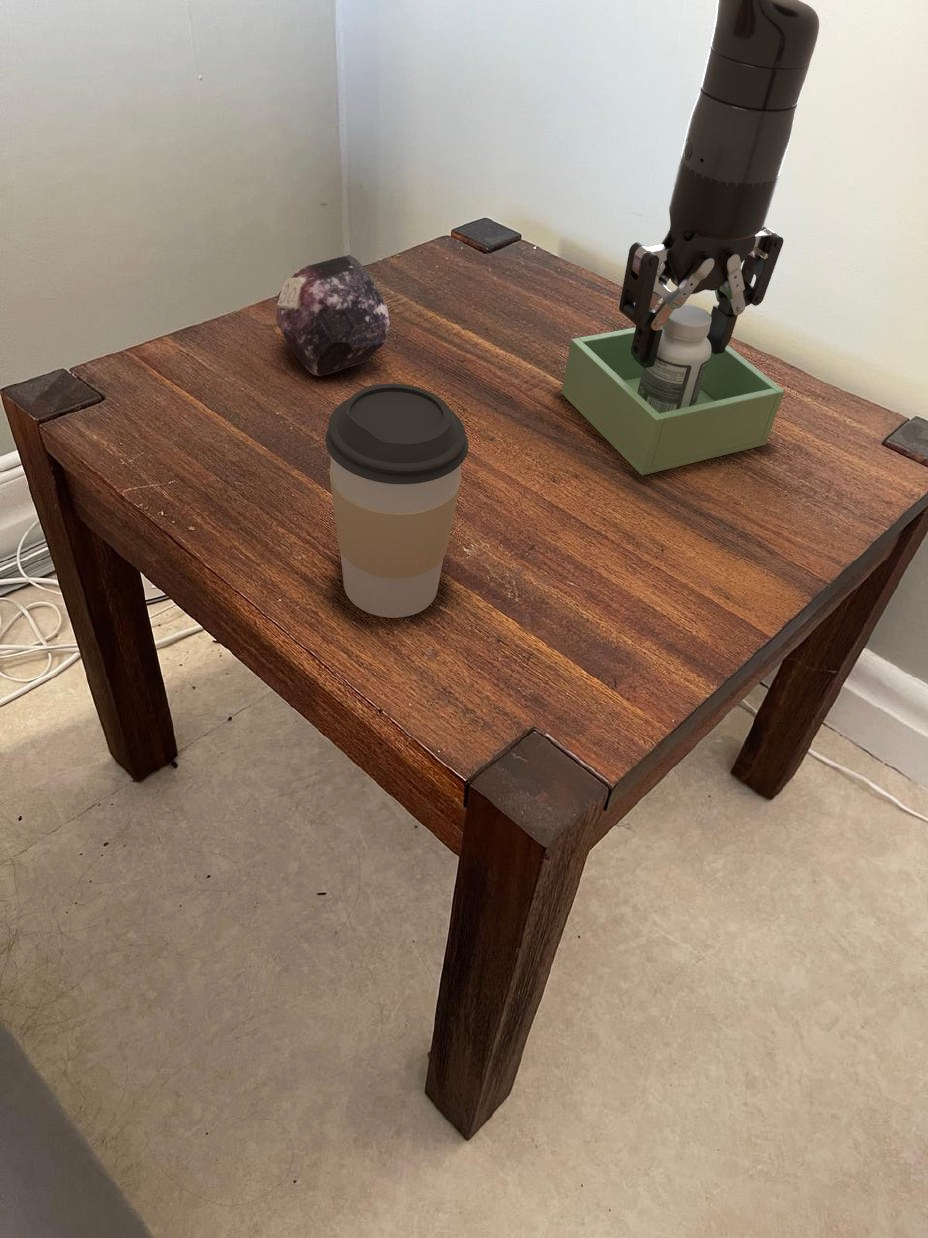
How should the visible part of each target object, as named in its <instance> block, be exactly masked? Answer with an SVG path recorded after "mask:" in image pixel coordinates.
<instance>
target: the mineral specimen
mask: <svg viewBox="0 0 928 1238" xmlns="http://www.w3.org/2000/svg"><path fill="white" fill-rule="evenodd" d="M276 297H277V298H276V299H277V300H276V307H275V320H276V323H277V326H278V328H279V330H280V332H281V334H282V336H283V337H284V339H285V341H286V343H287V344H288V345H289V347H290V349H291V350H292V352H293V353H294V354H295V356H296V357H297V359H298V360H299V362H300V363H301V365H302V366H303V367H304V368H305V370H307V371H308V372H309V373H311V375H314V376H317V377H321V376H325V375H329V374H334V373H337V372H340V371H343V370H345V369H349V368H351V367H354V366H357V365H358V366H359V365H360V364H364V363H366V362H367V361H369V360H370V359H371V358H372V357H373V356H374V355H375V354H376V353H377V352H378V350H380V349H381V348H382V347H383V346H384V345H385V344H386V342H387V338H388V335H389V331H390V318H389V309H388V306H387V304H386V302H385V300H384V298H383V296H382V294H381V293H380V292H379V290H378V288H377V287H376V285H375V282H374V281H373V279H372V278H371V276H370V275H369V273H368V272H367V270H366V269H365V267H364V266H363V265H362V264H361V262H360V261H359V260H358V259H357V258H355V257H354V256H353V255H351V254H347V255H343V256H338V257H335V258H331V259H327V260H324V261H321V262H317V263H313V264H309V265H306V266H303V267H299V268H297V269H296V270H295V272H294V273H293V274H292V275H291V277H289V278H287V279H286V280H285V281H284V283H283V286H282V288H281V290H280V291H279V292H278V294H277V296H276Z"/></svg>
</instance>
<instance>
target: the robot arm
mask: <svg viewBox="0 0 928 1238" xmlns="http://www.w3.org/2000/svg"><path fill="white" fill-rule="evenodd" d="M715 11H716V12H715V21H714V27H713V32H712V37H711V41H710V47H709V50H708V55H707V58H706V63H705V68H704V71H703V76H702V80H701V84H700V88H699V91H698V95H697V97H696V101H695V103H694V106H693V108H692V112H691V114H690V117H689V121H688V125H687V129H686V132H685V137H684V142H683V145H682V150H681V153H680V154H681V155H680V158H679V163H678V167H677V171H676V174H675V175H676V176H675V181H674V183H673V188H672V192H671V196H670V201H669V205H668V213H669V220H670V221H669V229H668V232H667V234H666V235H665V237H664V239H663V240H662V242H661V243H660V244H657V245H652V246H645V245H644V244H642V243H641V242H639V241H636V242H634V243H633V244H631V246H630V247H629V250H628V256H627V260H626V266H625V272H624V277H623V284H622V289H621V293H620V300H619V306H618V310H619V312H620V313H621V314H622V315H623V316H624V317H626V318H627V319H628V320H629V321H631V322H632V323H633V324H634V325H635V328H636V329H635V333H634V338H633V342H632V346H631V355H632V356H633V357H634V359H635V361H637V362H638V363H639V364H640V365H641V366H642V367H643V368H649V367H653V366H654V363H655V359H656V355H657V351H658V347H659V343H660V339H661V335H662V331H663V329H662V328H661V327H662V326H663V324H664V323H665V322H666V320H667V319H668V317H669V316H670V315H671V313H672V312H673V310H674V309H678V308H681V307H682V306H683V304H686V302H687V300H688V299H689V298H690V296H691V295H695V294H696V295H697V294H698V293H699V294H700V293H701V292H704V291H710V292H713V291H714V295H715V299H716V302H717V303H718V304H715V305H712V309H711V313H710V315H711V318H712V321H711V325H710V331H709V333H708V335H707V339H708V340H709V342H710V344H711V352H712V353H713V354H721V353H724V351H725V348H726V346H727V345H728V346H729V343H730V342H731V339H732V336H733V333H734V330H735V326H736V324H737V320H738V317H739V316H740V315H742V314H743V313H744V311H745V310H746V307H748V306H750V305H752V306H755V307H757V306H759V305H761V303H762V302H763V301H764V299H765V296H766V293H767V290H768V288H769V284H770V282H771V279H772V276H773V274H774V270H775V268H776V265H777V262H778V259H779V256H780V254H781V251H782V248H783V245H784V237H782V236H781V235H779V234H778V233H776V232H775V231H773V230H772V229H770V228H768V227H767V226H765V224H766V222H767V217H768V214H769V211H770V208H771V204H772V201H773V198H774V195H775V191H776V189H777V186H778V182H779V178H780V176H781V171H782V168H783V164H784V161H785V159H786V156H787V152H788V149H789V147H790V141H791V138H792V133H793V129H794V123H795V117H796V111H797V107H798V103H799V101H800V97H801V94H802V91H803V88H804V85H805V81H806V77H807V74H808V71H809V68H810V63H811V62H812V57H813V54H814V52H815V48H816V45H817V42H818V38H819V37H818V36H819V31H820V19H819V16H818V14H817V12H816V10H815V9H814V8H813V7H811V6H810V5H808V4H807V3H805V2H803V1H802V0H717V1H716V10H715ZM754 276H755V280H754V284H753V285H752V283H753V279H754ZM669 280H670V281H671V283H672V284H673V285H674V286H675V287H676V289H674V290H673V291H671V290H670V289H668V282H669ZM661 299H662V301H661V303H660V304H659V306H658V307H657V308H656V310H654V309H655V307H656V306H657V304H658V303H659V302H660V300H661Z"/></svg>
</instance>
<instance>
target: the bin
mask: <svg viewBox="0 0 928 1238" xmlns="http://www.w3.org/2000/svg"><path fill="white" fill-rule="evenodd" d="M661 328H662V327H661ZM635 329H636V327H631V328H626V329H620V330H615V331H610V332H609V331H608V332H604V333H599V334H593V335H587V336H581V337H576V338H571V339H570V343H569V349H568V355H567V359H566V365H565V371H564V376H563V381H562V388H561V392H560V393H561V394H562V396H563V397H564V398H565V399H566V400H568V402H569V403H570V404H571V405H572V406H573V407H574V408H575V409H576V410H577V411H578V412H579V413H580V414H581V415H582V416H583V417H584V418H585V419H586V420H587V421H588V423H589V424H591V425H592V426H593V427H594V428H595V429H596V430H597V432H599V434H601V436H602V437H604V439H605V440H606V441H607V442H608V443H609V444H610V445H611V446H612V447H613V448H614V449H615V450H616V451H617V452H618V453H619V454H620V455H621V456H622V457H623V458H624V459H625V460H626V461H627V462H628V463H629V464H630V465H631V466H632V468H634V469H635V470H636V471H637V473H638V474H639V475H640V476H646V475H650V474H654V473H657V472H658V473H659V472H661V471H665V470H666V471H667V470H671V469H675V468H677V467H678V468H679V467H682V466H687V465H691V464H694V463H698V462H702V461H706V460H710V459H715V458H718V457H723V456H726V455H730V454H734V453H738V452H742V451H747V450H751V449H754V448H758V447H762V446H763V447H764V446H766V445H767V442H768V439H769V436H770V433H771V431H772V428H773V425H774V422H775V420H776V417H777V414H778V412H779V409H780V406H781V404H782V401H783V398H784V395H785V392H786V391H785V390H784V389H783V388H782V387H780V385H778V384H777V383H776V382H775V381H773V380H772V379H771V378H769V377H768V376H767V375H766V374H764V373H763V372H762V371H761V370H759V369H758V368H757V367H755V366H754V365H753V364H752V363H751V362H749V361H748V360H747V359H746V358H744V357H743V356H742V355H741V354H739V353H738V352H737V351H735V350H734V349H733V348H732V347H731V346H729V344H728V345H727V346H726V348H725V351H724V353H721V354H713V353H712V352H711V355H710V358H709V362H708V365H707V369H706V372H705V375H704V379H703V382H702V386H701V389H700V393H699V396H698V400H697V404H696V405H695V406H691V407H686V408H682V409H677V410H673V411H668V412H664V413H660V414H659V413H658V412H657V411H656V410H655V409H654V408H653V407H651V406H650V405H649V404H648V403H647V402H646V401H645V400H644V399H643V398H642V397H641V396H640V395H639V394H638V388H639V384H640V380H641V376H642V371H643V367H642V366H641V365H640V364H639V363H638V362H637V361H635V359H634V357H633V356H632V355H631V346H632V342H633V338H634V333H635Z"/></svg>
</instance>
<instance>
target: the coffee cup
mask: <svg viewBox="0 0 928 1238" xmlns="http://www.w3.org/2000/svg"><path fill="white" fill-rule="evenodd" d="M324 440H325V446H326V450H327V452H328V454H329V458H330V467H329V481H330V482H329V483H330V489H331V498H332V506H333V507H332V508H333V516H334V524H335V532H336V540H337V546H338V549H339V552H340V561H341V563H340V564H341V571H342V573H341V574H342V579H343V589H344V592H345V594H346V596H347V598H348V599H349V600H350V602H351V603H352V604H353V605H354V606H356V607H357V608H359V609H360V610H361V611H364V612H365V613H368V614H370V615H373V616H377V617H381V618H392V619H397V618H405V617H410V616H413V615H416V614H419V613H421V612H422V611H424V610H425V609H427V608H428V607H429V606H430V605H431V604H432V603H433V602H434V601H435V599H436V596H437V594H438V588H439V585H440V578H441V573H442V568H443V563H444V559H445V556H446V555H447V552H448V548H449V543H450V537H451V532H452V527H453V523H454V517H455V513H456V508H457V503H458V498H459V493H460V489H461V484H462V472H461V470H462V465H463V463H464V461H465V460H466V458H467V455H468V451H469V439H468V437H467V432H466V427H465V425H464V424H463V422H462V420H461V419H460V417H459V416H458V415H457V414H456V413H455V412H454V411H453V410H452V409H451V408H450V407H449V406H448V404H447V403H446V402H445V400H443V399H442V398H440V396H438V395H437V394H435V393H433V392H431V391H429V390H427V389H424V388H421V387H419V386H415V385H410V384H405V383H380V384H375V385H371V386H367V387H365V388H362V389H360V390H359V391H357V392H355V393H354V394H353V395H352V396H350V397H349V398H347V399H346V400H344V401H342V402H341V403H340V404H338V405H337V407H336V408H335V409H334V410H333V411H332V412H331V414H330V416H329V419H328V427H327V430H326V433H325V439H324Z"/></svg>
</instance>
